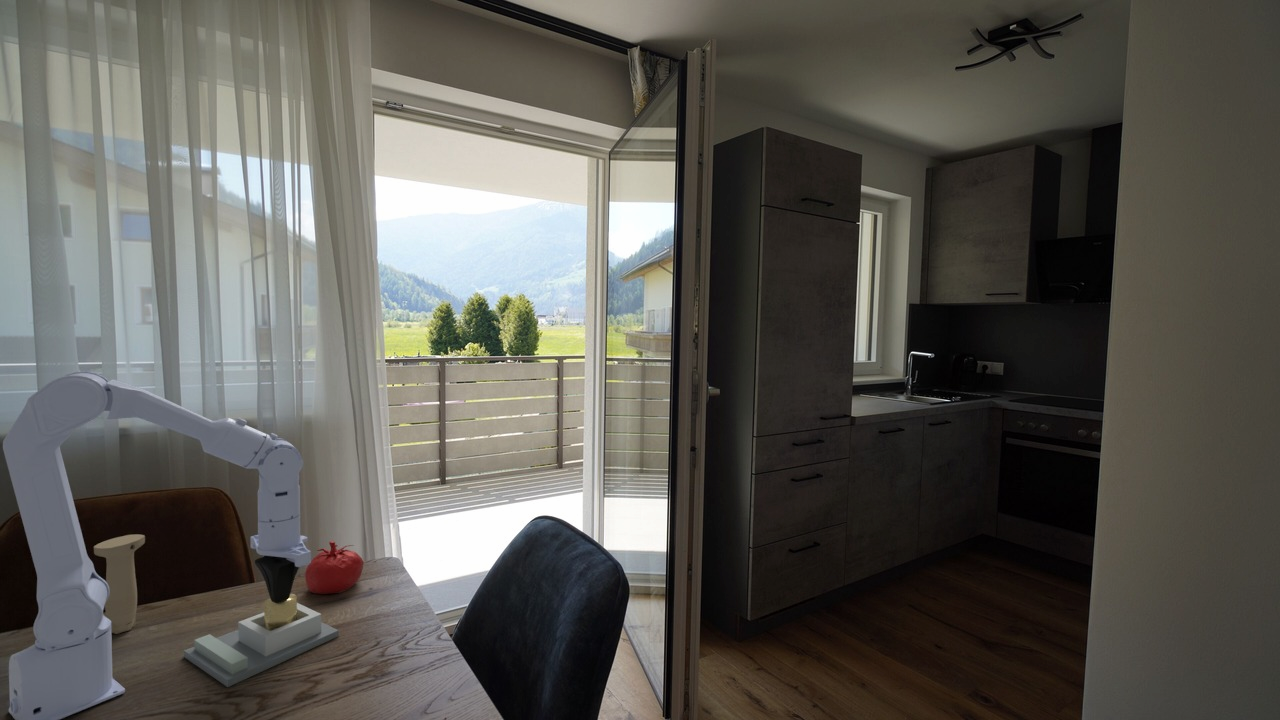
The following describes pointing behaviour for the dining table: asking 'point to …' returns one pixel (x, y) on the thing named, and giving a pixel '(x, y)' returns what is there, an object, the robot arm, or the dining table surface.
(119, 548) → the handle
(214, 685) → the dining table surface
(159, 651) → the dining table surface
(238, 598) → the dining table surface
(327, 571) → the red tomato
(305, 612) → the jig
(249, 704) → the dining table surface
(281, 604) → the brass cylinder
